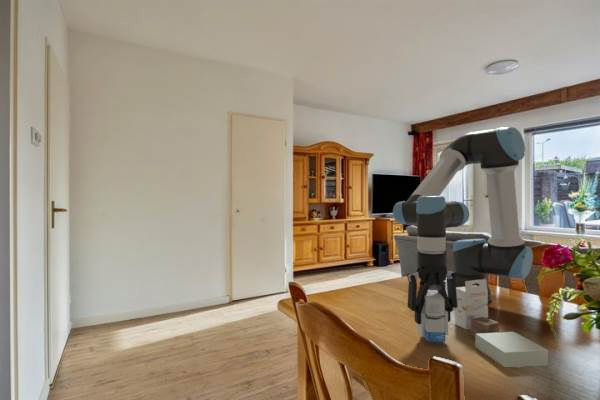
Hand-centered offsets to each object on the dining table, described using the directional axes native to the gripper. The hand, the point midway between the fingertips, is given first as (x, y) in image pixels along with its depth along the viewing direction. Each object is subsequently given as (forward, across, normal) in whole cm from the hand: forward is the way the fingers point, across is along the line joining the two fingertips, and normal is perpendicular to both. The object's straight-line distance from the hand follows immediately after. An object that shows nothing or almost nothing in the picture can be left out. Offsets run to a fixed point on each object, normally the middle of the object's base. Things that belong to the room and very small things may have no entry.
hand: (432, 333), depth 92 cm
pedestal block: (+3, -15, +11) cm, 18 cm away
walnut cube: (+2, -16, 0) cm, 16 cm away
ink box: (+1, 0, 0) cm, 1 cm away
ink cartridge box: (+3, -18, -9) cm, 20 cm away
